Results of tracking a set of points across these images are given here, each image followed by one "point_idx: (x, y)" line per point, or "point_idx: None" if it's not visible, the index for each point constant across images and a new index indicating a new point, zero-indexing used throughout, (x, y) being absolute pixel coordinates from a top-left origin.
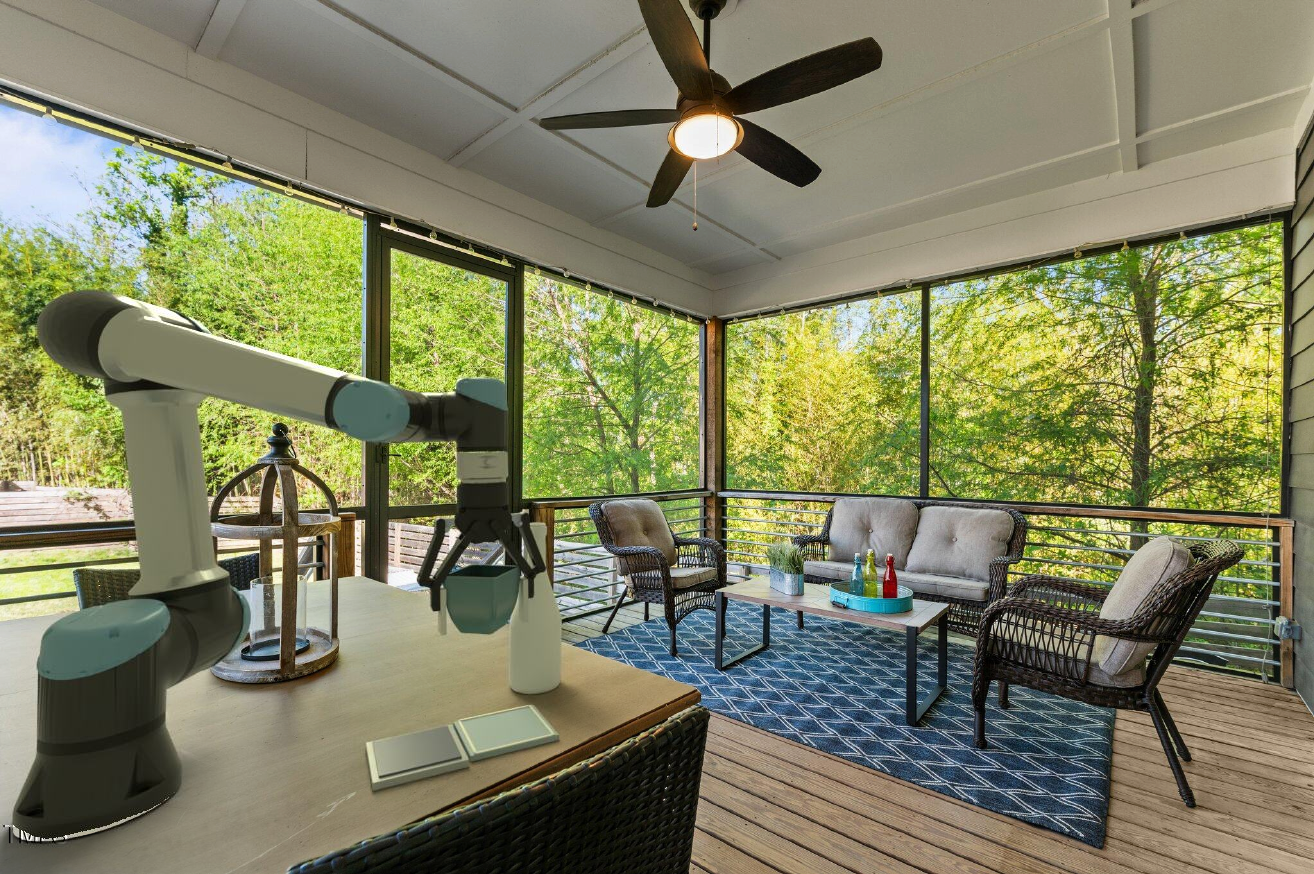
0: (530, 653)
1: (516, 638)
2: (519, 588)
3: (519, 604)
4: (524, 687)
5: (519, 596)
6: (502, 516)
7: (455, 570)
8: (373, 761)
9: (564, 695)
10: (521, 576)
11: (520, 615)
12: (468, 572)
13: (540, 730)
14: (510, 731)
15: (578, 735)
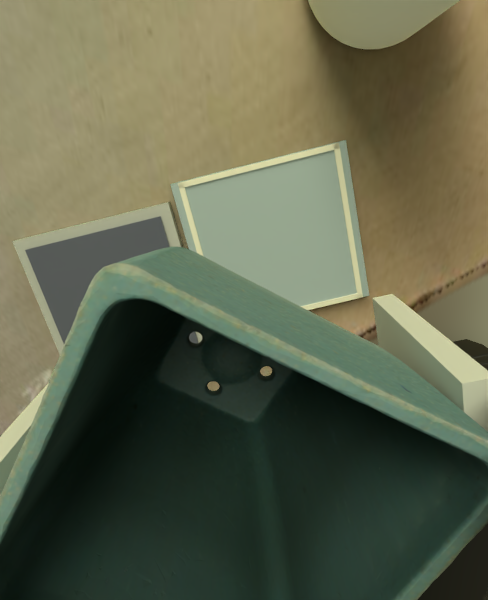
0: (386, 10)
1: None
2: (430, 369)
3: (395, 332)
4: (339, 38)
5: (411, 349)
6: None
7: (9, 480)
8: (50, 317)
9: (428, 73)
10: (483, 385)
11: (381, 329)
12: (108, 331)
13: (340, 270)
14: (284, 260)
15: (404, 283)
